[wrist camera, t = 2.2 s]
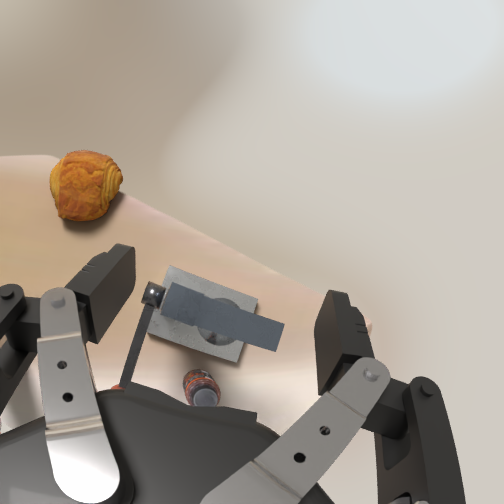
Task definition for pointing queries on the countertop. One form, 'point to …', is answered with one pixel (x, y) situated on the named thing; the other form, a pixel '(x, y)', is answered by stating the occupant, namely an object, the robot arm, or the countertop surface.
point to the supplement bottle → (201, 389)
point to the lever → (141, 330)
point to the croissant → (84, 185)
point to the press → (211, 317)
